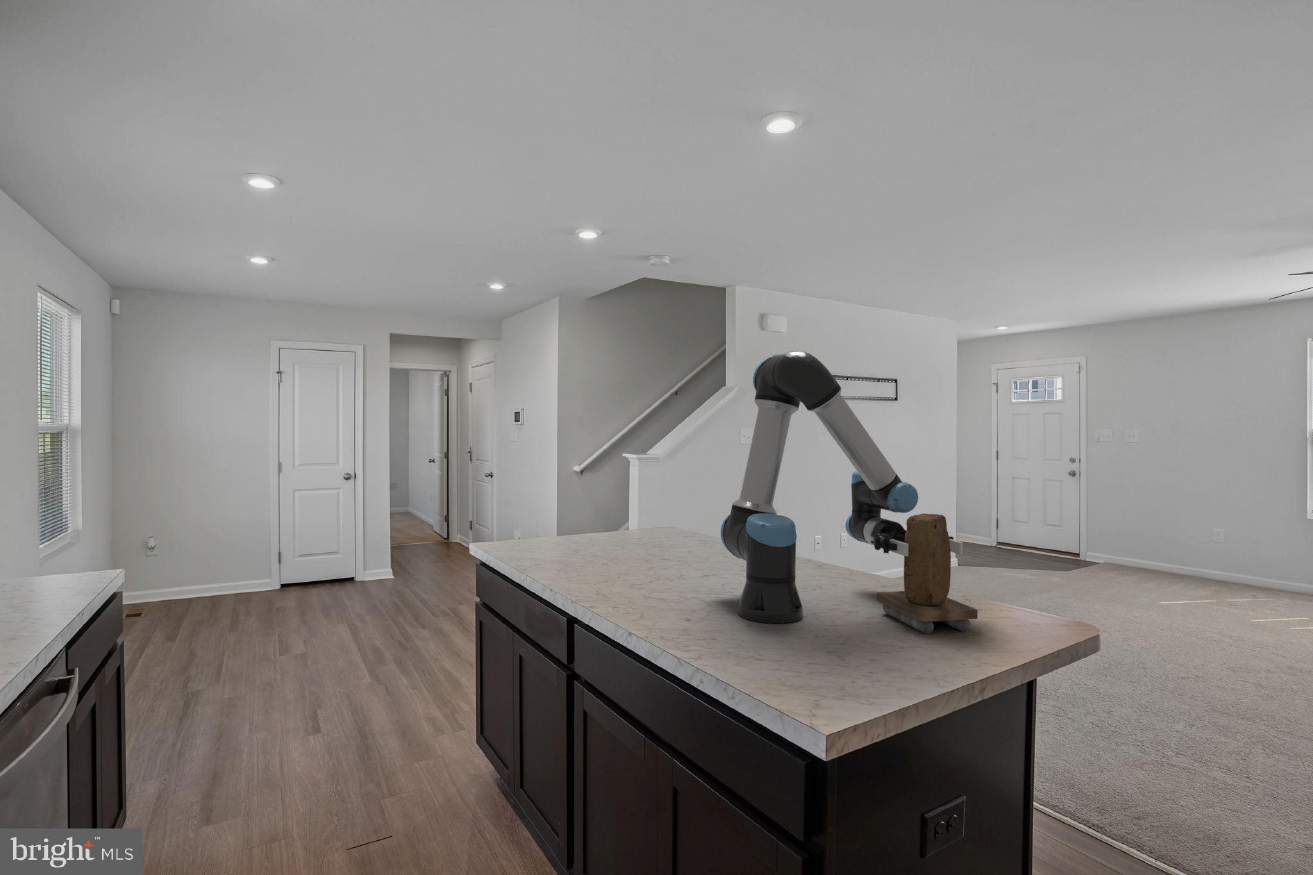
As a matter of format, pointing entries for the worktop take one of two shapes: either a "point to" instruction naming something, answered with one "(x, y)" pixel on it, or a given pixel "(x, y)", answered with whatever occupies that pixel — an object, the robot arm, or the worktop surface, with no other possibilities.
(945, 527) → the block
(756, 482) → the robot arm
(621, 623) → the worktop surface
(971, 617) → the slab
